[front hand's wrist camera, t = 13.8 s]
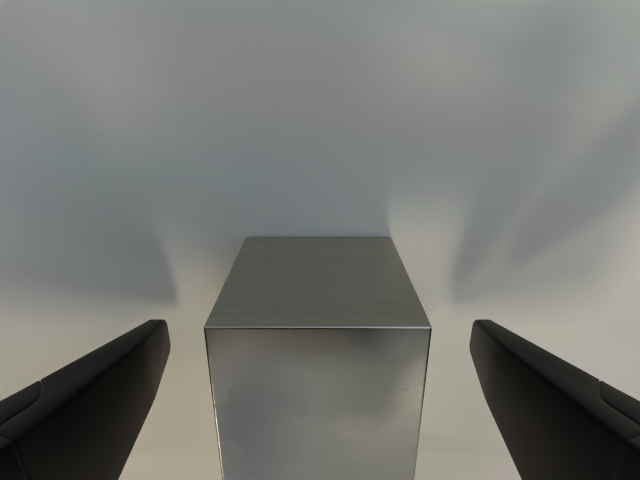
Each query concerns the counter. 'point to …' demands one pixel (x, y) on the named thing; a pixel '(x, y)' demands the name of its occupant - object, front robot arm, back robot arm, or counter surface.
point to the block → (318, 361)
